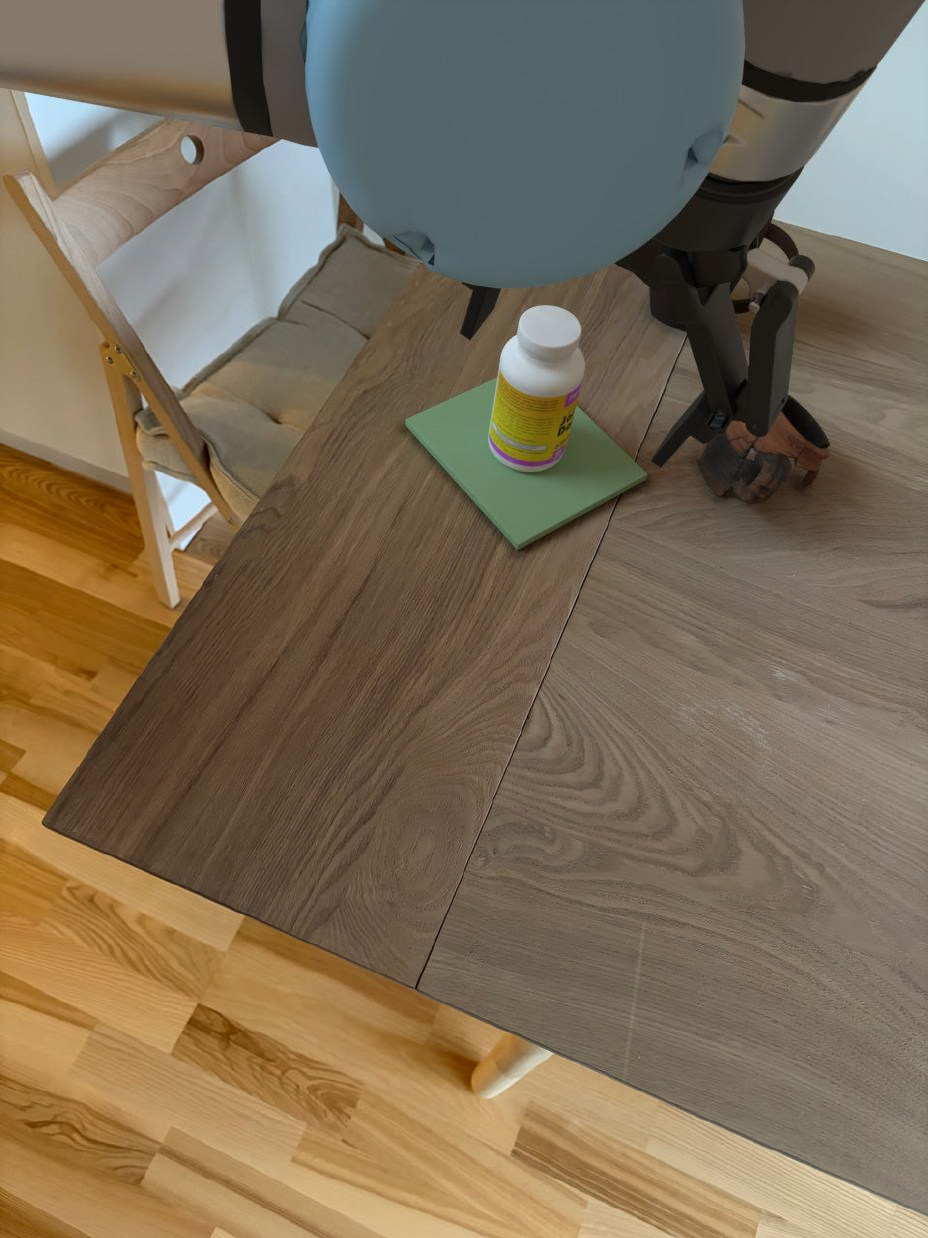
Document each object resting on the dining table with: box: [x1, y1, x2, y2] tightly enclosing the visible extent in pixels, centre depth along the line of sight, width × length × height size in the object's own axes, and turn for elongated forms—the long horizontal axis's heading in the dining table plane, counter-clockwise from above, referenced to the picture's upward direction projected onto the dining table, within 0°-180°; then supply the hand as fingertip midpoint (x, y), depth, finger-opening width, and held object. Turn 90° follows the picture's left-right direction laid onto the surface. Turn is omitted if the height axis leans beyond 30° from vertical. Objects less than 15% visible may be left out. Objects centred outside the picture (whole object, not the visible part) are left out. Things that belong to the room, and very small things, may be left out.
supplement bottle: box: [488, 304, 586, 472], centre depth 75 cm, size 7×7×13 cm
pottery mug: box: [696, 394, 831, 506], centre depth 79 cm, size 12×10×8 cm
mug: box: [648, 210, 800, 331], centre depth 88 cm, size 10×14×12 cm
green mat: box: [404, 377, 648, 551], centre depth 81 cm, size 16×14×1 cm
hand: (571, 384), depth 56 cm, fingers open, 13 cm apart
